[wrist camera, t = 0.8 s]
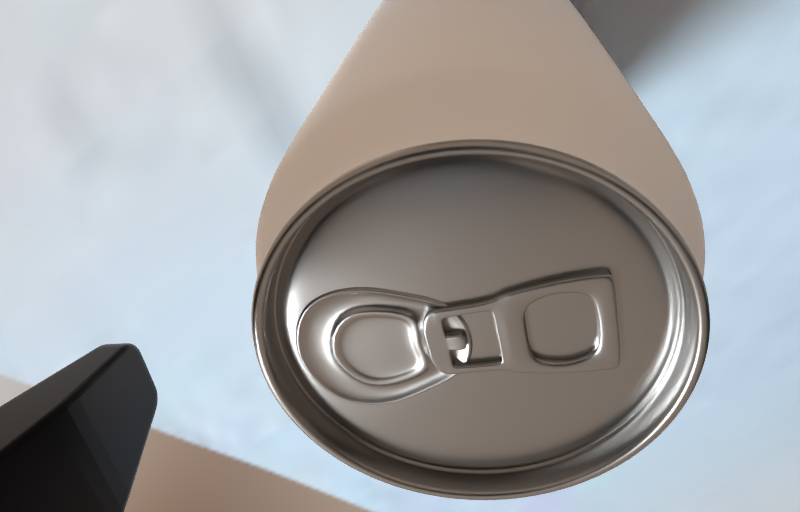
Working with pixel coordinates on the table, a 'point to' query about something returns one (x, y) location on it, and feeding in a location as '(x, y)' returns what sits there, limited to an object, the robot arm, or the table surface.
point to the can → (480, 257)
